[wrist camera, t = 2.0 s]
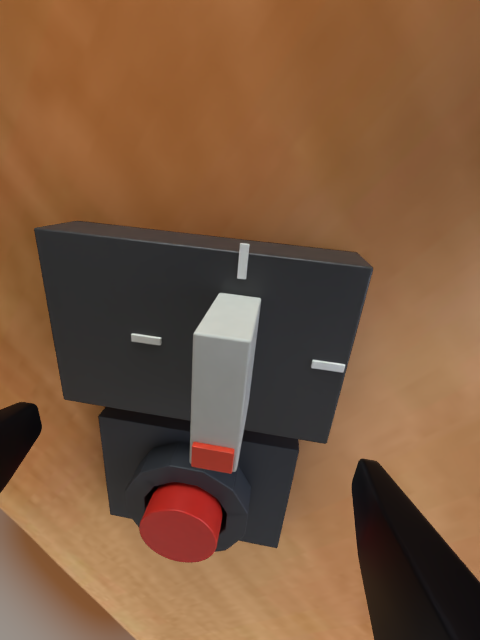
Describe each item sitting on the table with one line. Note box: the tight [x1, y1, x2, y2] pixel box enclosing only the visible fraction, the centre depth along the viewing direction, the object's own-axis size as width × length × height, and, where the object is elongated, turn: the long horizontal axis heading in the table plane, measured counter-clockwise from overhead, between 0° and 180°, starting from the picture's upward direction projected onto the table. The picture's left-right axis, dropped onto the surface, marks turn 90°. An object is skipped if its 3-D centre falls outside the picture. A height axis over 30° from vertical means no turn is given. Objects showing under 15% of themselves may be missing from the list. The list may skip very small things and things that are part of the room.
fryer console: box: [34, 221, 373, 444], centre depth 16 cm, size 14×10×3 cm
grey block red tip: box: [189, 293, 261, 474], centre depth 12 cm, size 6×2×4 cm, turn 175°
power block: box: [98, 407, 299, 552], centre depth 20 cm, size 12×9×4 cm
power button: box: [139, 482, 223, 562], centre depth 18 cm, size 4×4×2 cm
